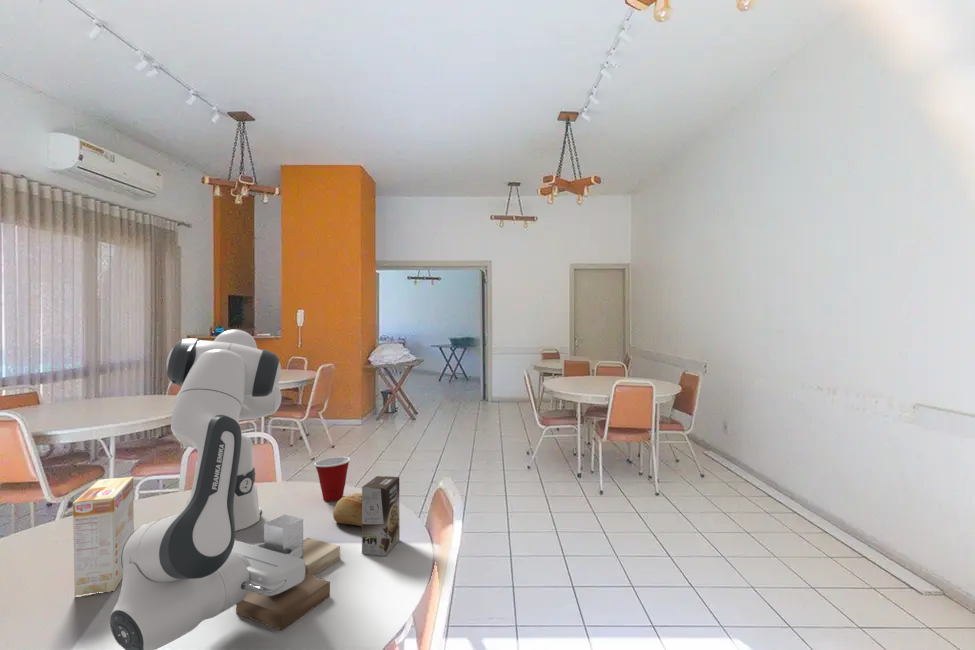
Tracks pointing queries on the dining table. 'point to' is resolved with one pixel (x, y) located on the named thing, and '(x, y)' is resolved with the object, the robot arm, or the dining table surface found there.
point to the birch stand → (319, 555)
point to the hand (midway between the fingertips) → (287, 547)
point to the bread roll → (349, 510)
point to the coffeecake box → (101, 534)
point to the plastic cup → (332, 477)
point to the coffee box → (380, 515)
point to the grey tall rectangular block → (283, 534)
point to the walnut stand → (285, 603)
